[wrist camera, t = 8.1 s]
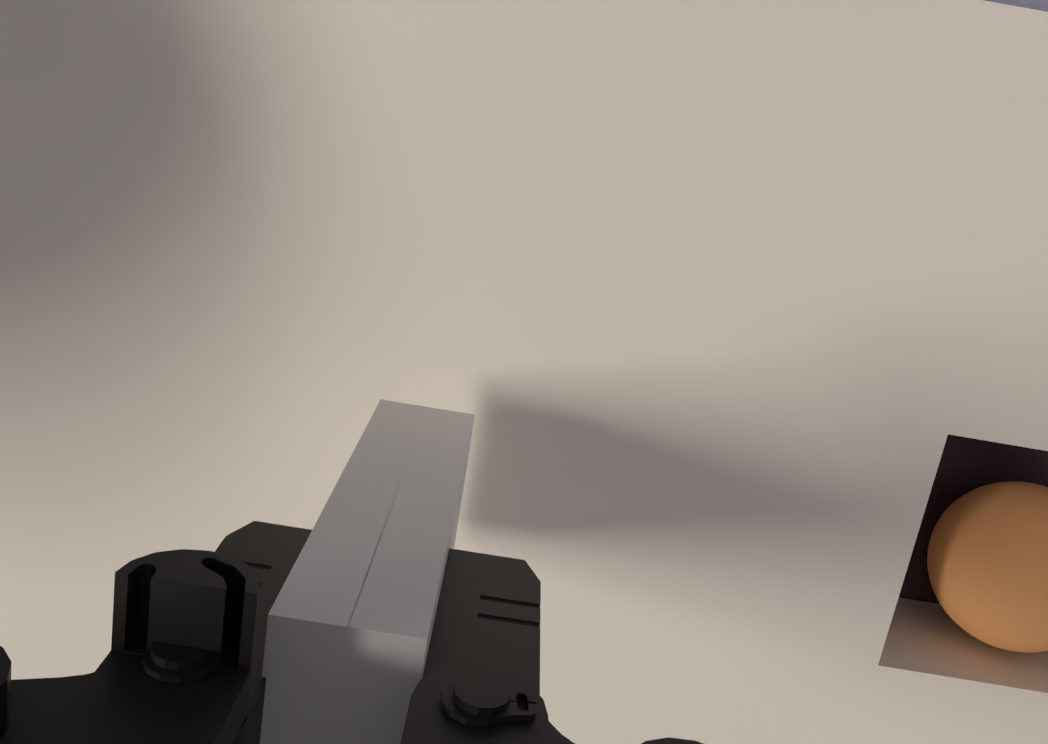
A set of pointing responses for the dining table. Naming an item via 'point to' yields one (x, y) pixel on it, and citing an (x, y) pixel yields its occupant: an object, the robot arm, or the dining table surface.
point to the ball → (995, 564)
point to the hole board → (541, 322)
